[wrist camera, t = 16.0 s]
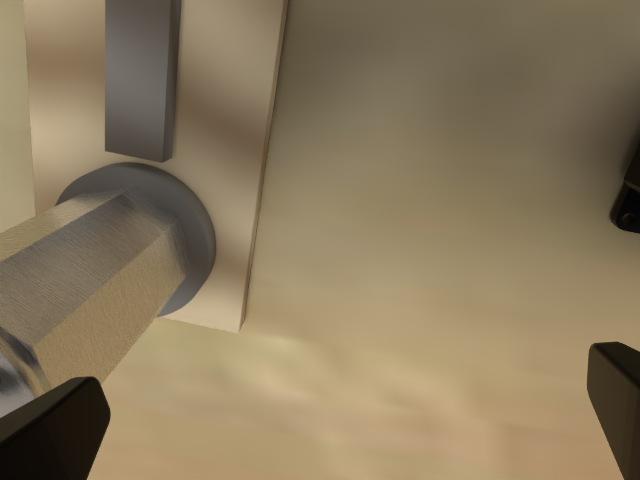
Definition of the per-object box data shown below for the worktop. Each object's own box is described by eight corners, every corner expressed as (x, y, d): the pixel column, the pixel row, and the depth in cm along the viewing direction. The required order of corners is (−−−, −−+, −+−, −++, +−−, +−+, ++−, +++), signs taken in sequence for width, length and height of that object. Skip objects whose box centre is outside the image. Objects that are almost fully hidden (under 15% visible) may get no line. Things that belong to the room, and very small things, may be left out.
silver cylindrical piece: (213, 240, 20) (74, 406, 10) (152, 326, 22) (-11, 530, 12) (100, 160, 19) (-160, 264, 10) (47, 257, 21) (-211, 420, 12)
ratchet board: (243, 322, 24) (212, 388, 19) (52, 281, 24) (-23, 336, 19) (311, -168, 16) (287, -257, 11) (30, -220, 16) (-105, -328, 12)
